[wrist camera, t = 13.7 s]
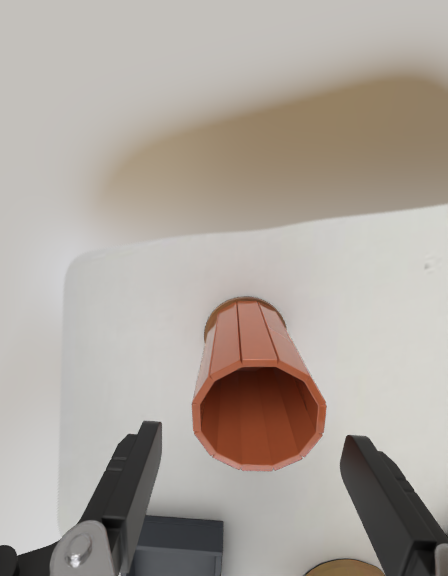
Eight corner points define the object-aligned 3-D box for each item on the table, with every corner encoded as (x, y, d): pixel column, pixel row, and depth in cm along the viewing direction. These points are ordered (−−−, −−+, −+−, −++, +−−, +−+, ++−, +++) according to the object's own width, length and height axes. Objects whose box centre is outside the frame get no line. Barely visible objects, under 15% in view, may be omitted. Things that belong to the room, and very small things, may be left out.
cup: (195, 349, 21) (169, 437, 12) (232, 287, 19) (233, 335, 11) (259, 382, 21) (278, 489, 13) (300, 324, 20) (353, 398, 11)
